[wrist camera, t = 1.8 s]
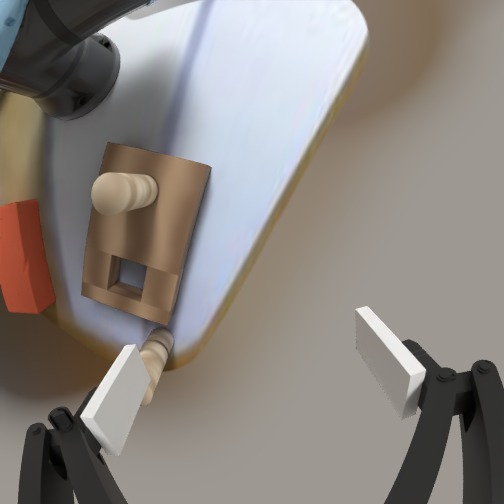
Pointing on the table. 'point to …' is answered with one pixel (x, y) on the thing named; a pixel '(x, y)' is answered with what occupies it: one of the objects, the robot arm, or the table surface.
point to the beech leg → (155, 358)
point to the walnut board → (141, 228)
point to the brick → (23, 259)
